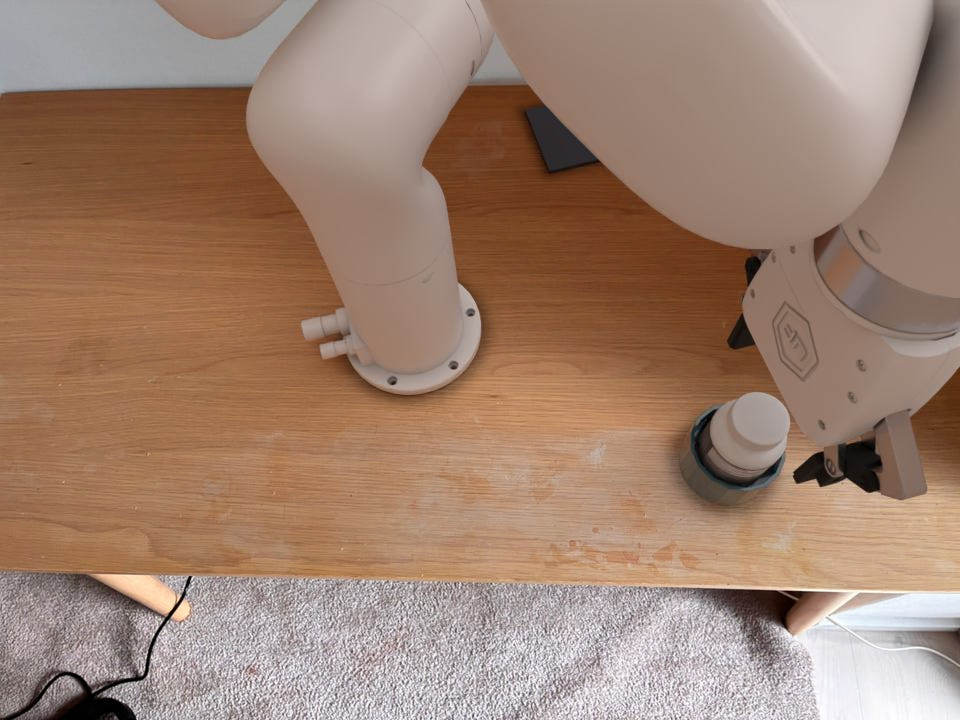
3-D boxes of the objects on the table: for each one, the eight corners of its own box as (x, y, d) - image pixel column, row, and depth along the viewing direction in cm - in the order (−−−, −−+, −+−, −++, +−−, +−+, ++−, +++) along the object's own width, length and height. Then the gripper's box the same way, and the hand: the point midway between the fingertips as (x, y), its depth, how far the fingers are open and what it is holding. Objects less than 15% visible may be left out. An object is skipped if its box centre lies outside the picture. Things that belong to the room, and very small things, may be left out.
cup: (698, 515, 55) (712, 501, 51) (665, 435, 58) (676, 415, 54) (780, 493, 55) (801, 476, 51) (744, 414, 58) (760, 393, 54)
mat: (549, 173, 71) (549, 170, 70) (524, 112, 75) (524, 109, 74) (632, 153, 71) (632, 151, 71) (603, 93, 75) (604, 91, 75)
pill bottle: (710, 418, 58) (744, 368, 49) (769, 454, 56) (816, 409, 47) (677, 468, 56) (707, 426, 47) (737, 507, 54) (780, 470, 45)
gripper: (743, 125, 33) (676, 308, 48) (943, 457, 25) (786, 550, 40) (889, 89, 33) (776, 282, 49) (1129, 404, 26) (905, 516, 41)
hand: (781, 404), depth 45 cm, fingers open, 9 cm apart
